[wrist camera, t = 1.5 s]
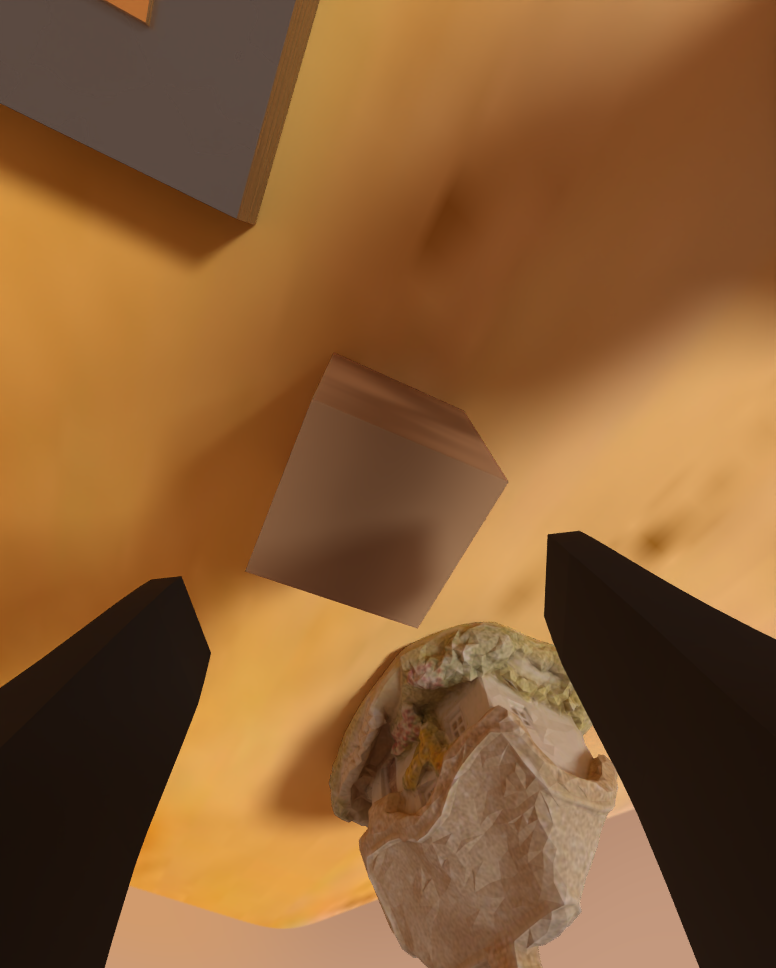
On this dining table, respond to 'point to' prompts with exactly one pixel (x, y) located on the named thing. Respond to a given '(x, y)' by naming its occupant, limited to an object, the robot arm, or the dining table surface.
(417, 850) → the ceramic model
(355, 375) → the taupe wooden cube
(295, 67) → the grey square picture frame
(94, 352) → the dining table surface
